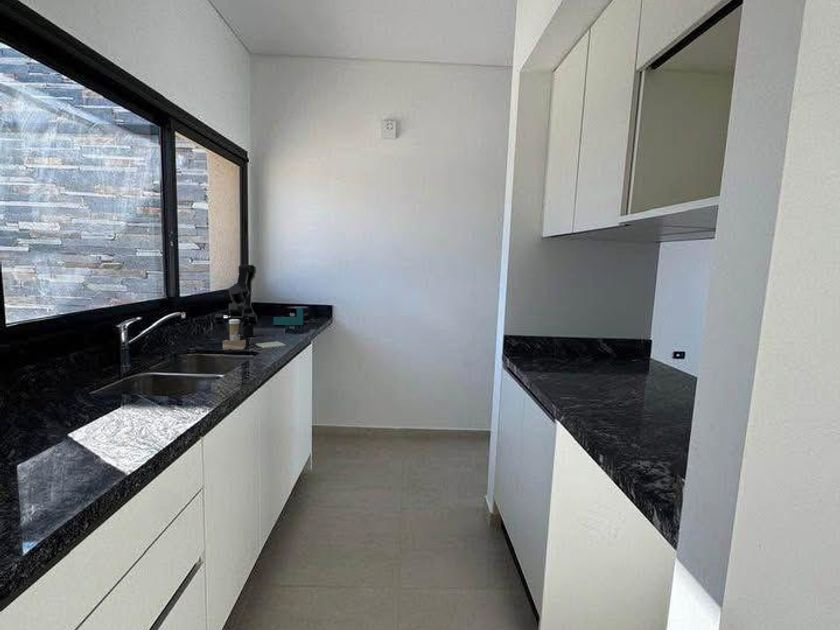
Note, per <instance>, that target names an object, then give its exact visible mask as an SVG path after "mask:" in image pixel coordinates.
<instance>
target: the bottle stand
mask: <svg viewBox="0 0 840 630" xmlns="http://www.w3.org/2000/svg"><path fill="white" fill-rule="evenodd" d="M246 346H247V343H246V339H242V340H241V339H240V340H238V341H230V340H228V339H225V340H222V350H223V351H224V350H225V351H226V350H227V351H229V349H231V350H244V349H245V348H246Z"/></svg>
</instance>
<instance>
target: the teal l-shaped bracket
mask: <svg viewBox="0 0 840 630" xmlns="http://www.w3.org/2000/svg"><path fill="white" fill-rule="evenodd" d="M274 325H285V326H303V325H304V309H303V308H296V316H279V317H278V316H277V317H275V316H274V317H273V326H274Z"/></svg>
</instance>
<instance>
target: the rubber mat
mask: <svg viewBox="0 0 840 630" xmlns="http://www.w3.org/2000/svg"><path fill="white" fill-rule="evenodd" d="M255 346H258V347H260V348H262V349H272V348H278V347H286V346H287V345H286V344H285V343H283V342H280V341H269V342H260V343H259V342H258V343H255Z"/></svg>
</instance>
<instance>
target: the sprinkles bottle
mask: <svg viewBox="0 0 840 630" xmlns="http://www.w3.org/2000/svg"><path fill="white" fill-rule="evenodd" d="M239 323H240V321H239V319H231V320H229V325H230V334H229V341H238V340H241V336H240V335H241V333H240V334H239V328H240V326H239Z"/></svg>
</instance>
